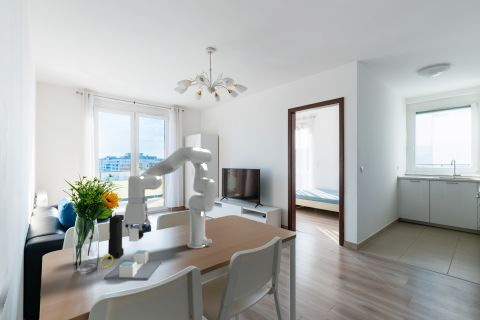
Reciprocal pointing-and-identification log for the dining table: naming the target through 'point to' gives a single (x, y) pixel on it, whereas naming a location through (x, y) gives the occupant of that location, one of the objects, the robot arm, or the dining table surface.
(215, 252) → the dining table surface
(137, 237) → the module block
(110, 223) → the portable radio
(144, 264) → the board
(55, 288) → the dining table surface
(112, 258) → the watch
